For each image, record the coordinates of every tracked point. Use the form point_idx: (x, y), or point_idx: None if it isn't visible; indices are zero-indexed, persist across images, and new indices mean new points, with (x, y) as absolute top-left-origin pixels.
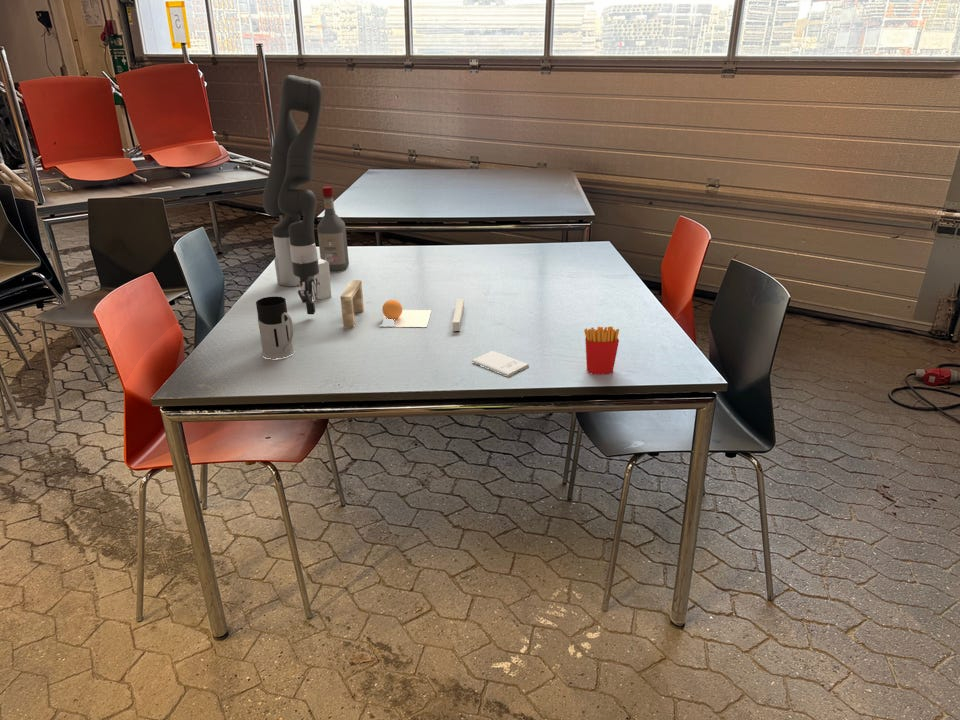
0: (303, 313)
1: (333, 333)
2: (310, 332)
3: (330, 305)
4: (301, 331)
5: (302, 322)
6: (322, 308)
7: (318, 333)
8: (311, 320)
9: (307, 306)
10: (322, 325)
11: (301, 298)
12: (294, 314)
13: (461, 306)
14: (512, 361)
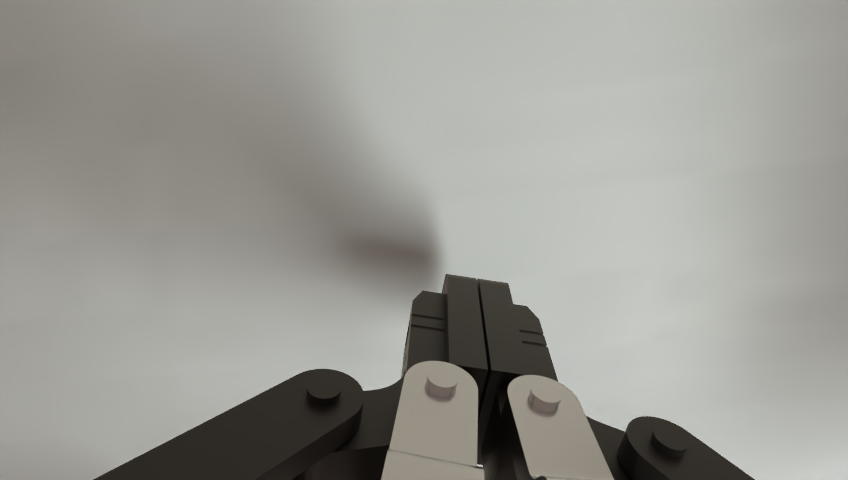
0: (653, 170)
1: (61, 476)
2: (53, 302)
3: (815, 421)
4: (66, 213)
5: (340, 193)
6: (752, 357)
7: (40, 371)
8: (394, 281)
9: (408, 355)
10: (245, 388)
11: (146, 467)
12: (651, 54)
13: None
14: None
